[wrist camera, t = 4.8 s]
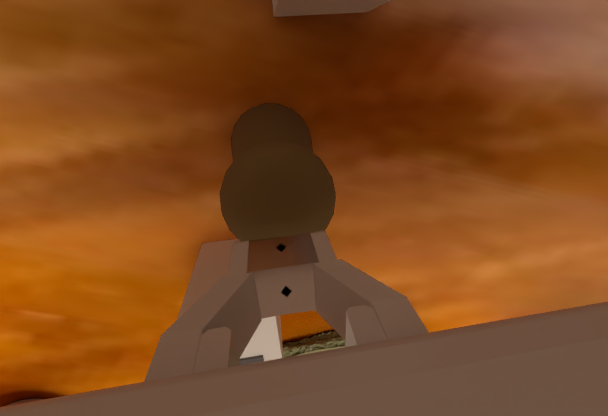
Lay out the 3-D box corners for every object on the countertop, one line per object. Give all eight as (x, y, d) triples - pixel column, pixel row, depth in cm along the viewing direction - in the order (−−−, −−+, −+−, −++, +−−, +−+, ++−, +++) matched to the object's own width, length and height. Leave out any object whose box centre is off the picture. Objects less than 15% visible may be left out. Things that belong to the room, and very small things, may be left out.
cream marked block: (270, 234, 24) (275, 318, 16) (277, 284, 27) (284, 376, 19) (200, 243, 24) (169, 334, 16) (214, 293, 27) (195, 392, 19)
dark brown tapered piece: (213, 144, 20) (169, 219, 10) (272, 83, 19) (283, 105, 9) (271, 196, 23) (279, 295, 13) (327, 146, 21) (381, 215, 12)
